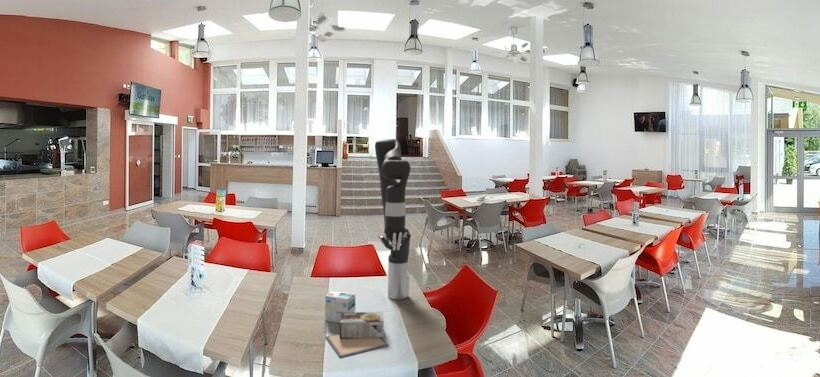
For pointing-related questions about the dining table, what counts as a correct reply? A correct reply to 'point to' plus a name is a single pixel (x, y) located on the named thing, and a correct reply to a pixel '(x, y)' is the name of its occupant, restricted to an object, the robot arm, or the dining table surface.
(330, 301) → the light bulb box
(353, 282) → the dining table surface
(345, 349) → the mat
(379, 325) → the coffee box
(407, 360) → the dining table surface
